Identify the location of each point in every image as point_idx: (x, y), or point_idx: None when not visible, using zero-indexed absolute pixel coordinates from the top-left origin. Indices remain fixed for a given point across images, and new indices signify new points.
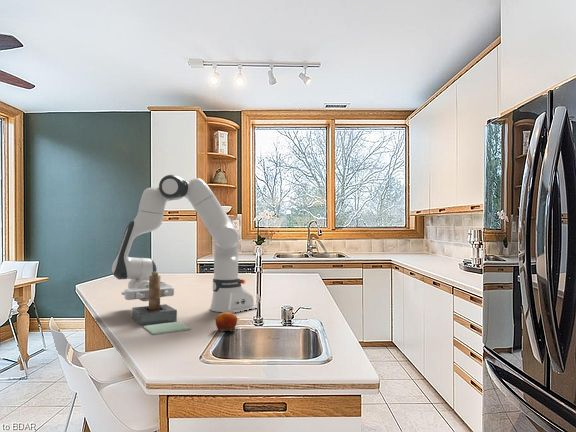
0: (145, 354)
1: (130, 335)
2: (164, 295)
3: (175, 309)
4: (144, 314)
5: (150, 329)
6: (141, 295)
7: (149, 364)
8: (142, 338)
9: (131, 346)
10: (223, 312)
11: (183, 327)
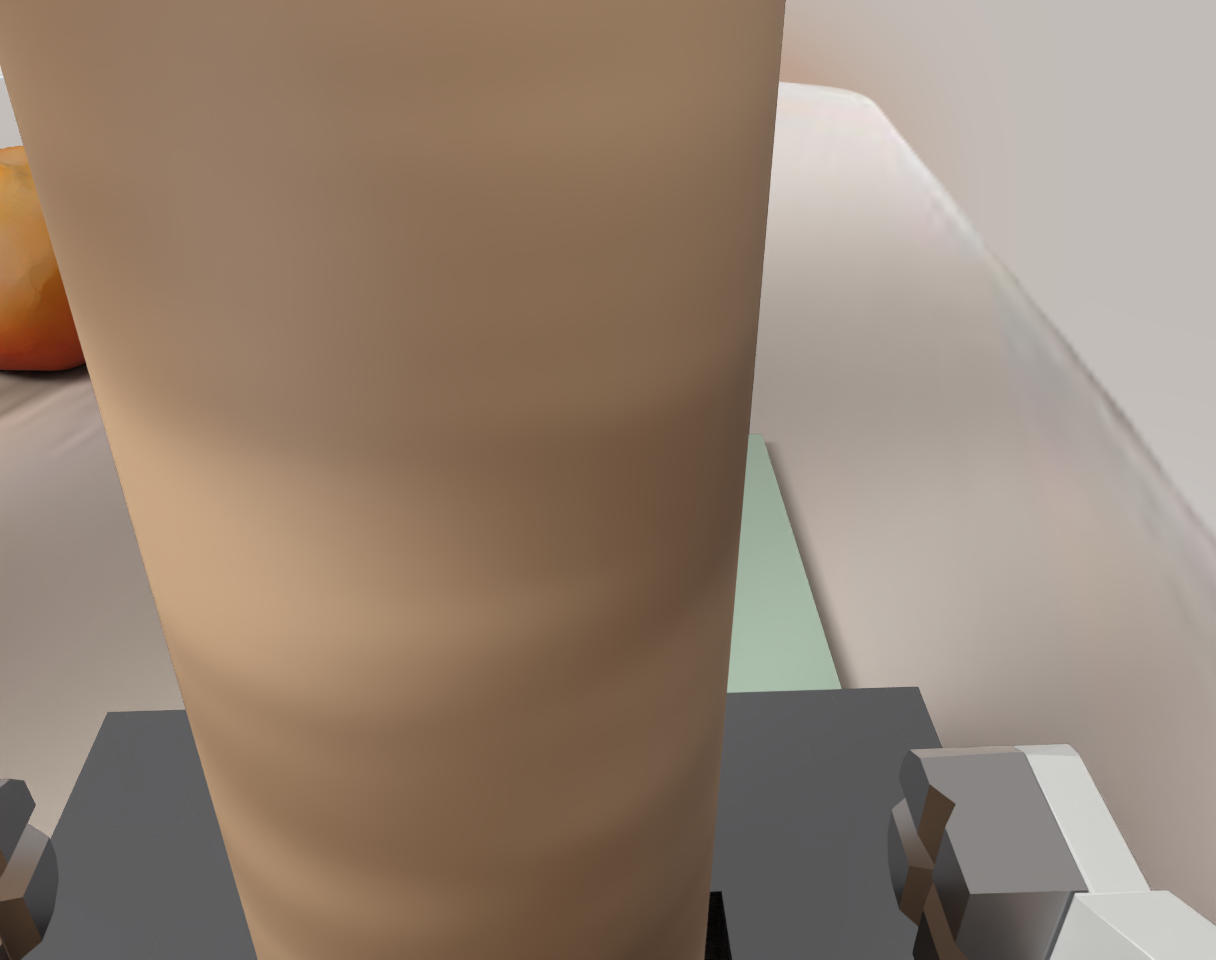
0: (867, 214)
1: (1019, 510)
2: (47, 847)
3: (74, 788)
4: (854, 698)
5: (769, 542)
6: (1042, 756)
7: (853, 150)
8: (879, 408)
9: (972, 309)
10: (7, 166)
11: None
